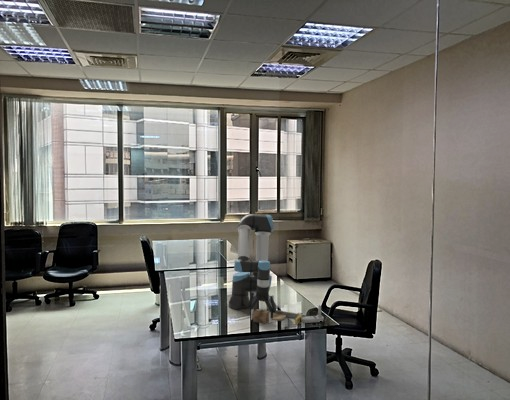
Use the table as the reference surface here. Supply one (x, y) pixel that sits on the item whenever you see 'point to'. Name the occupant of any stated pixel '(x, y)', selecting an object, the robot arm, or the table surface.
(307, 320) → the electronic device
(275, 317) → the deck
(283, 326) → the table surface
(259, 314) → the clip block
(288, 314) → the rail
